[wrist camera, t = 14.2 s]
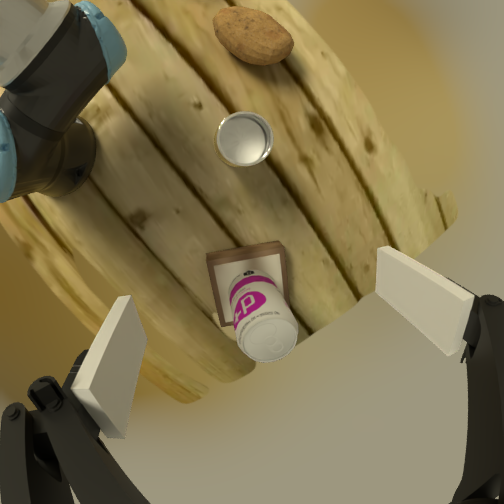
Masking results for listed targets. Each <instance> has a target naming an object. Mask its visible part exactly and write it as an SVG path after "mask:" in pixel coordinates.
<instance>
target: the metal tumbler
mask: <svg viewBox="0 0 504 504" xmlns="http://www.w3.org/2000/svg"><path fill="white" fill-rule="evenodd" d="M273 141H274V137H273V131H272V129H271V127H270V125H269V123H268V122H267V121H266V120H265V119H264V118H263V117H262V116H260V115H258V114H256V113H253V112H249V111H241V112H236V113H233V114H231V115H230V116H228V117H227V118H226V119H224V120H223V122H222V123H221V124H220V125H219V127H218V128H217V130H216V132H215V136H214V147H215V151H216V153H217V155H218V156H219V158H220V159H221V160H222V161H223V162H225V163H226V164H228V165H230V166H233V167H239V168H243V167H249V166H253V165H255V164H258V163H260V162H261V161H263V160H264V159H265V158H266V157H267V156H268V155H269V153H270V151H271V149H272V146H273Z"/></svg>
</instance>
